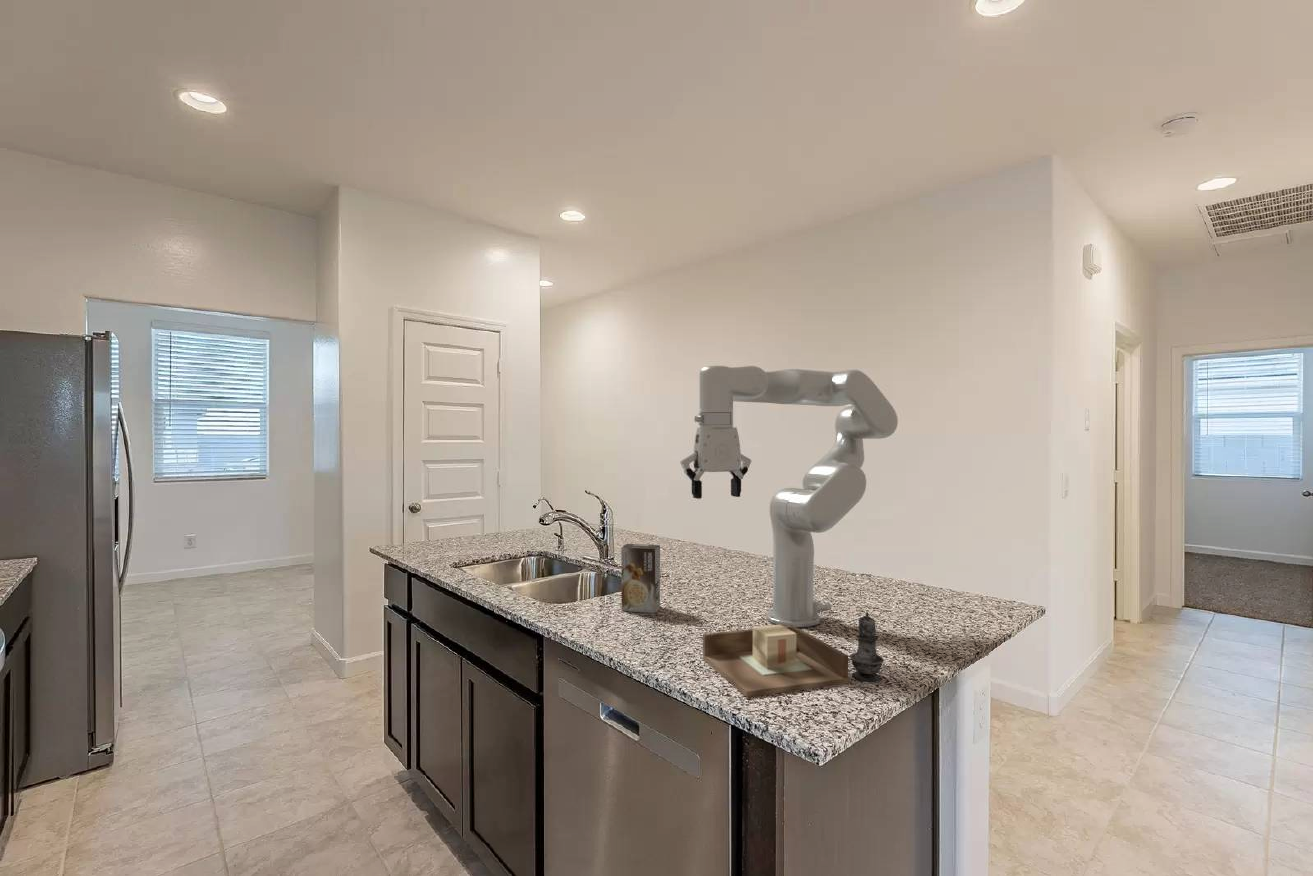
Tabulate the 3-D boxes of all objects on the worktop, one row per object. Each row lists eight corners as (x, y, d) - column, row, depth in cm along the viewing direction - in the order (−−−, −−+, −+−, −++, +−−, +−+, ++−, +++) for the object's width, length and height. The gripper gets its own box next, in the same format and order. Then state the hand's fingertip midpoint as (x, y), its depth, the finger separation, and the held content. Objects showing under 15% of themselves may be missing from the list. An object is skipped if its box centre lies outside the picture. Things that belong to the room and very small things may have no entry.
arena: (792, 649, 130) (792, 625, 130) (848, 683, 112) (848, 655, 112) (702, 659, 123) (703, 634, 123) (746, 697, 105) (746, 667, 105)
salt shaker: (844, 672, 117) (845, 607, 117) (875, 671, 118) (875, 607, 118) (857, 684, 112) (858, 616, 112) (889, 683, 112) (890, 616, 112)
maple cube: (796, 666, 117) (796, 633, 117) (767, 669, 115) (767, 636, 115) (780, 655, 123) (780, 624, 123) (752, 658, 121) (752, 627, 121)
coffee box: (661, 607, 162) (661, 544, 162) (655, 613, 156) (656, 548, 156) (626, 604, 164) (627, 543, 164) (620, 611, 158) (620, 547, 158)
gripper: (688, 420, 135) (688, 500, 135) (758, 421, 141) (758, 497, 141) (674, 421, 142) (674, 497, 142) (741, 421, 148) (741, 494, 148)
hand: (716, 497), depth 142 cm, fingers open, 9 cm apart
